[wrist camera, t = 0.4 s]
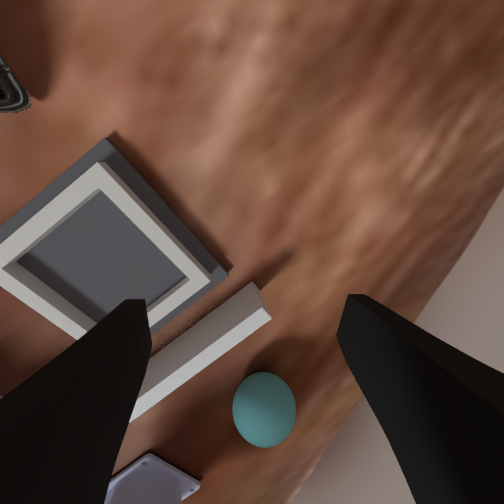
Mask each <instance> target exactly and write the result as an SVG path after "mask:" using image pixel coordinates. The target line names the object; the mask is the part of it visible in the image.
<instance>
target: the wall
mask: <svg viewBox="0 0 504 504" xmlns="http://www.w3.org/2000/svg"><path fill="white" fill-rule="evenodd" d="M270 319H272V318H271V315H270V313H269V311H268V308H267V306H266V303H265V301H264V298H263V296H262V294H261V291H260V290H259V289H258V288H257V286H256V285H255V284H254V283H253V282H250V283H249V284H248V285H246V286H245V287H244V288H242V289H241V290H240V291H238V292H237V293H236V294H234V295H233V296H232V297H230V298H229V299H228V300H226V301H225V302H224V303H222V304H221V305H220V306H219V307H217V308H216V309H215V310H213V311H212V312H211V313H209V314H208V315H207V316H205V317H204V318H203V319H201V320H200V321H199V322H197V323H196V324H195V325H193V326H192V327H191V328H189V329H188V330H187V331H185V332H184V333H183V334H181V335H180V336H179V337H177V338H176V339H175V340H173V341H172V342H171V343H169V344H168V345H167V346H165V347H164V348H163V349H161V350H160V351H159V352H157V353H156V354H155V355H153V356H152V357H151V358H149V361H148V366H147V370H146V374H145V377H144V380H143V383H142V386H141V389H140V392H139V395H138V398H137V401H136V404H135V407H134V409H133V412H132V415H131V418H130V421H129V423H130V422H131V421H133V420H134V419H135V418H137V417H138V416H140V415H141V414H142V413H144V412H145V411H146V410H148V409H149V408H150V407H152V406H153V405H155V404H156V403H157V402H159V401H160V400H161V399H163V398H164V397H165V396H167V395H168V394H170V393H171V392H172V391H174V390H175V389H176V388H178V387H179V386H180V385H182V384H183V383H184V382H186V381H187V380H189V379H190V378H191V377H193V376H194V375H195V374H197V373H198V372H199V371H201V370H202V369H204V368H205V367H206V366H208V365H209V364H210V363H212V362H213V361H214V360H216V359H217V358H219V357H220V356H221V355H223V354H224V353H225V352H227V351H228V350H229V349H231V348H232V347H234V346H235V345H236V344H238V343H239V342H240V341H242V340H243V339H244V338H246V337H247V336H249V335H250V334H251V333H253V332H254V331H255V330H257V329H258V328H259V327H261V326H262V325H264V324H265V323H266V322H268V321H269V320H270Z"/></svg>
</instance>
